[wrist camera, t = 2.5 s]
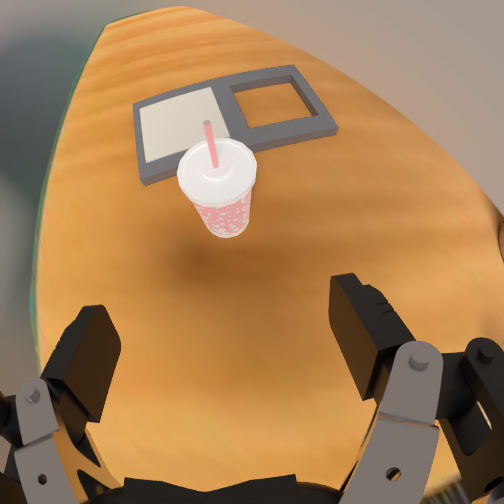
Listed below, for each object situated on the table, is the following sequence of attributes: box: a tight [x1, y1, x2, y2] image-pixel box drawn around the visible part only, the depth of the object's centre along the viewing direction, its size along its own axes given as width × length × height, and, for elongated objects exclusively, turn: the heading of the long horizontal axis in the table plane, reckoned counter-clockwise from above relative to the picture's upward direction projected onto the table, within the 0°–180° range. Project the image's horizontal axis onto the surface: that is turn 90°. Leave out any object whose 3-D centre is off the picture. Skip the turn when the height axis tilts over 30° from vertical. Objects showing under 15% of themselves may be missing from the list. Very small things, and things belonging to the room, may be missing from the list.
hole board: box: [133, 65, 339, 186], centre depth 33 cm, size 24×14×2 cm, turn 108°
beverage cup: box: [177, 120, 257, 238], centre depth 23 cm, size 6×6×14 cm
